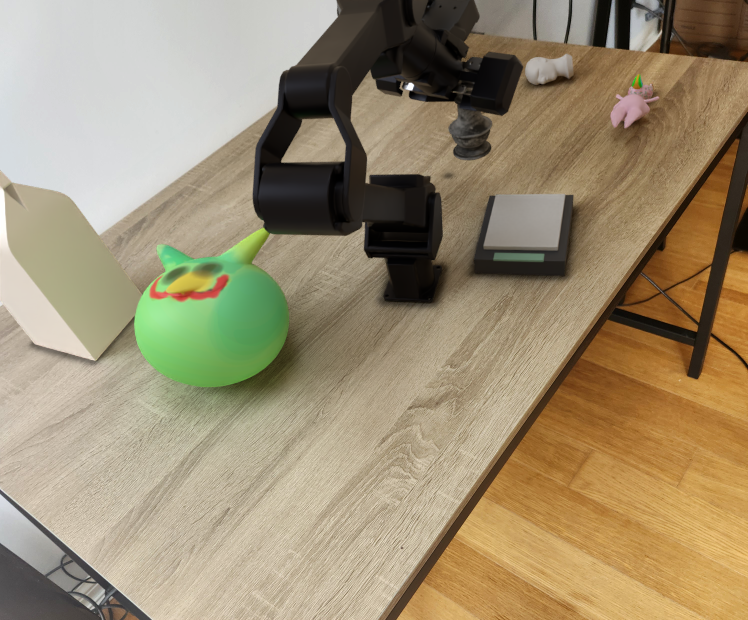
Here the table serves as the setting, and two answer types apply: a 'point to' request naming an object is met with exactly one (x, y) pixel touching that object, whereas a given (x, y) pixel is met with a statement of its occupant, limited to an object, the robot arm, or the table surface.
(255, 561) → the table surface
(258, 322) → the toy bird
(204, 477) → the table surface
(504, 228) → the scale
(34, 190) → the milk
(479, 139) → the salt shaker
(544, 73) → the smooth white sculpture
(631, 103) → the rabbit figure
